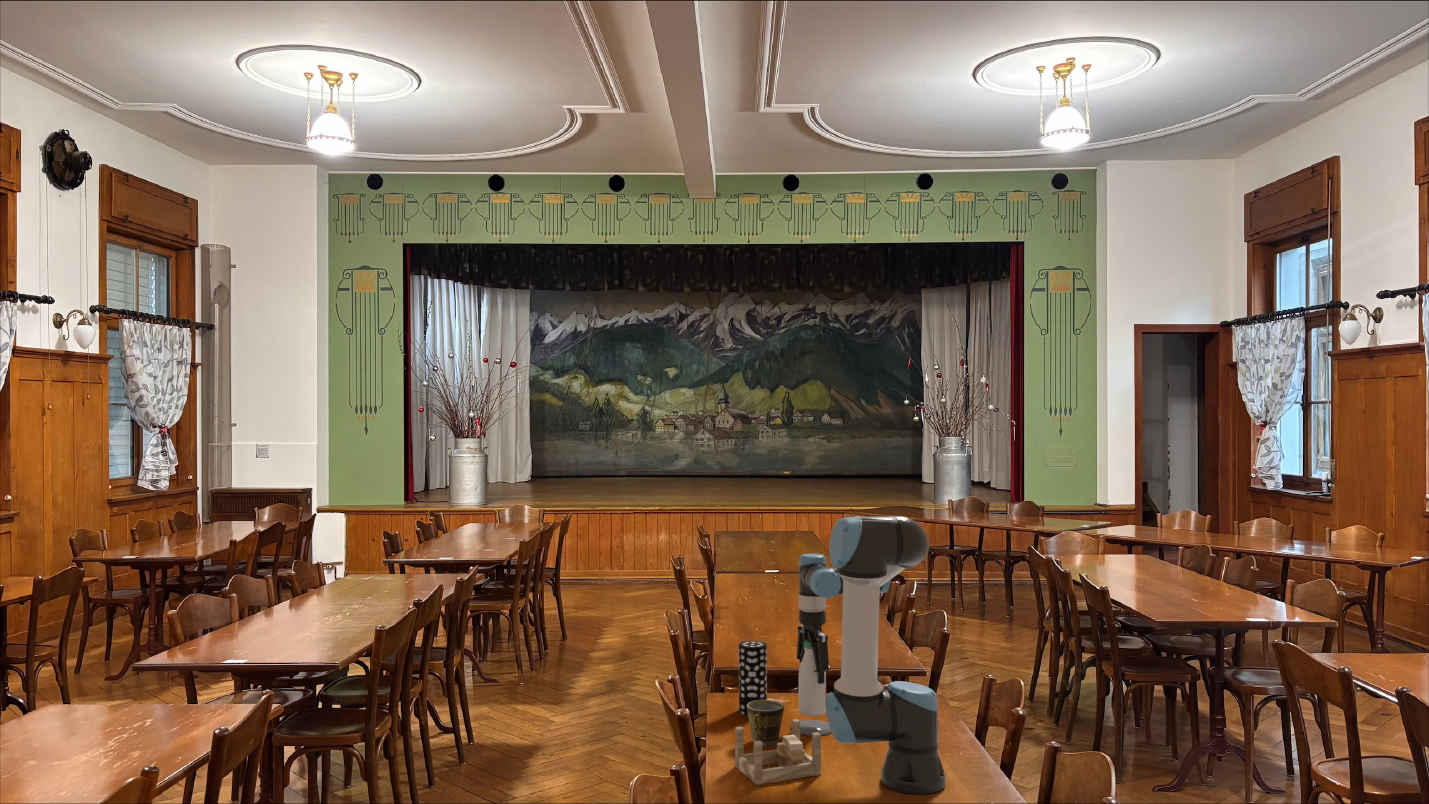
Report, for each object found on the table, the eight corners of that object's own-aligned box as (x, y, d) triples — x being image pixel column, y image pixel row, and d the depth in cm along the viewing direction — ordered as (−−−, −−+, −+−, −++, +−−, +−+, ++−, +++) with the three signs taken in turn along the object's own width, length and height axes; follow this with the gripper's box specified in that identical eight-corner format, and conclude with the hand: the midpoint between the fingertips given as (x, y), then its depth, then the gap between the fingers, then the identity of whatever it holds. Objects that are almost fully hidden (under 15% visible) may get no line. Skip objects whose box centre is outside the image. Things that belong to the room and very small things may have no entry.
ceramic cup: (754, 734, 266) (754, 697, 266) (788, 738, 262) (788, 702, 262) (737, 749, 254) (737, 711, 254) (773, 754, 250) (773, 715, 250)
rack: (820, 774, 236) (820, 733, 236) (756, 785, 229) (756, 743, 229) (797, 757, 248) (797, 718, 248) (735, 766, 241) (735, 726, 241)
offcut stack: (806, 773, 237) (806, 743, 237) (791, 775, 235) (791, 745, 235) (791, 761, 245) (791, 732, 245) (776, 764, 243) (776, 734, 243)
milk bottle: (824, 717, 266) (824, 645, 266) (797, 715, 267) (796, 643, 267) (827, 708, 273) (827, 638, 273) (800, 707, 275) (800, 637, 275)
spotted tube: (754, 705, 292) (753, 639, 292) (772, 711, 286) (772, 644, 286) (733, 710, 287) (733, 643, 287) (751, 717, 280) (751, 648, 281)
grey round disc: (841, 732, 267) (841, 730, 267) (803, 738, 262) (803, 735, 262) (821, 719, 278) (821, 717, 278) (784, 725, 273) (784, 722, 273)
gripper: (842, 615, 262) (842, 699, 262) (807, 601, 281) (807, 679, 281) (817, 617, 260) (817, 702, 259) (784, 603, 279) (784, 682, 278)
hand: (812, 690), depth 270 cm, fingers closed on milk bottle, 8 cm apart
